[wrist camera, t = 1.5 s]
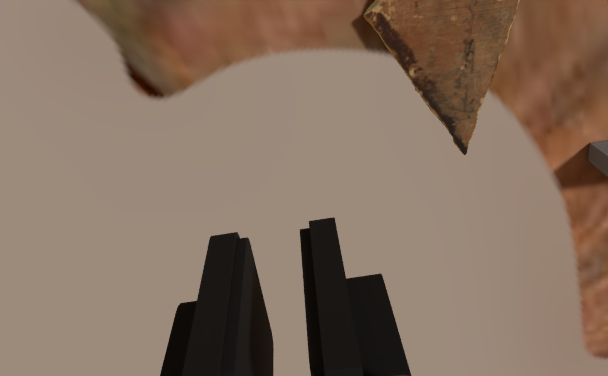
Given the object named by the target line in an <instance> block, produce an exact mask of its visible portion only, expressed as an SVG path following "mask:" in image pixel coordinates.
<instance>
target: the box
mask: <svg viewBox="0 0 608 376" xmlns="http://www.w3.org/2000/svg"><path fill="white" fill-rule="evenodd" d="M588 161H589V162H590V163H591V164H592V165H594V166H595V167H596V168H597V169H599V170H600V171H601V172H602V173H604V174H605V175H606V176H607V177H608V140H606V141H600V142H593V143H590V147H589V155H588Z"/></svg>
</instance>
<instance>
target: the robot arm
mask: <svg viewBox="0 0 608 376" xmlns="http://www.w3.org/2000/svg"><path fill="white" fill-rule="evenodd" d="M309 227H310V228H307V229H300V238H301V253H302V267H303V280H304V295H305V309H306V323H307V337H308V351H309V363H310V371H311V376H411V373H410V370H409V366H408V363H407V360H406V356H405V353H404V349H403V346H402V342H401V339H400V335H399V332H398V328H397V325H396V321H395V318H394V315H393V311H392V307H391V304H390V301H389V297H388V294H387V290H386V287H385V283H384V280H383V277H382V275H381V274H375V275H369V276H362V277H355V278H348V279H346V277H345V272H344V267H343V261H342V255H341V250H340V245H339V239H338V234H337V230H336V223H335V218H327V219H321V220H314V221H309ZM160 376H273V338H272V332H271V328H270V323H269V320H268V316H267V311H266V307H265V303H264V299H263V294H262V290H261V286H260V282H259V278H258V274H257V270H256V266H255V261H254V257H253V253H252V249H251V245H250V241H249V239H248V238H241V239H240V237H239V235H238V233H237V232H235V233H228V234H222V235H215V236H211V237H210V240H209V245H208V250H207V255H206V260H205V265H204V270H203V275H202V279H201V284H200V289H199V294H198V300H197V301H194V302H186V303H181V304H180V305H179V306H178V308H177V311H176V314H175V318H174V322H173V326H172V330H171V334H170V338H169V342H168V346H167V350H166V354H165V358H164V362H163V366H162V370H161V374H160Z"/></svg>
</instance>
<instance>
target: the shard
mask: <svg viewBox="0 0 608 376" xmlns="http://www.w3.org/2000/svg"><path fill="white" fill-rule="evenodd" d="M519 1H520V0H375V1H374V3H372V4H371V5H370V6H369V8H368V9H367V10H366V12H365V13H364V15H363V17H364V18H365V19H366V21H367V22H368V23H370V24H371V25H372V27H373V28H374V30H375V31H376V32H377V33H378V35H379V36H380V38H381V39H382V41H383V42H384V44H385V46H386V47H387V48H388V49H389V52H390V53H391V54H392V55H393V57H394V58H395V59H396V60H397V62H398V63H399V64H400V66H401V67H402V68H403V70H404V71H405V73H406V74H407V76H408V77H409V79H410V80H411V82H412V84H413V85H414V87H415V90H416V91H417V92H418V93H420V95H421V97H422V98H423V100H424V101H425V103H426V104H427V105H428V107H429V108H430V110H431V111H432V112H433V113H434V114H435V115H436V116H437V117H438V119H439V120H440V121H441V122H442V124H444V125H445V127H446V128H447V129H448V131H449V133H450V134H451V135H452V136H453V141H454V143H455V144H456V145H457V147H458V148H459V150H460V151H461V152H462V153H463V154H464V155H466V153H467V149H468V146H469V142H470V139H471V137H472V135H473V131H474V129H475V127H476V122H477V118H478V112H479V110H480V108H481V105H482V103H483V100H484V98H485V95H486V92H487V90H488V87H489V85H490V84H491V82H492V79H493V77H494V75H495V72H496V69H497V66H498V63H499V60H500V57H501V54H502V53H503V51H504V48H505V45H506V43H507V39H508V37H509V30H510V28H511V25H512V23H513V22H514V19H515V14H516V11H517V7H518V4H519Z"/></svg>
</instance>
